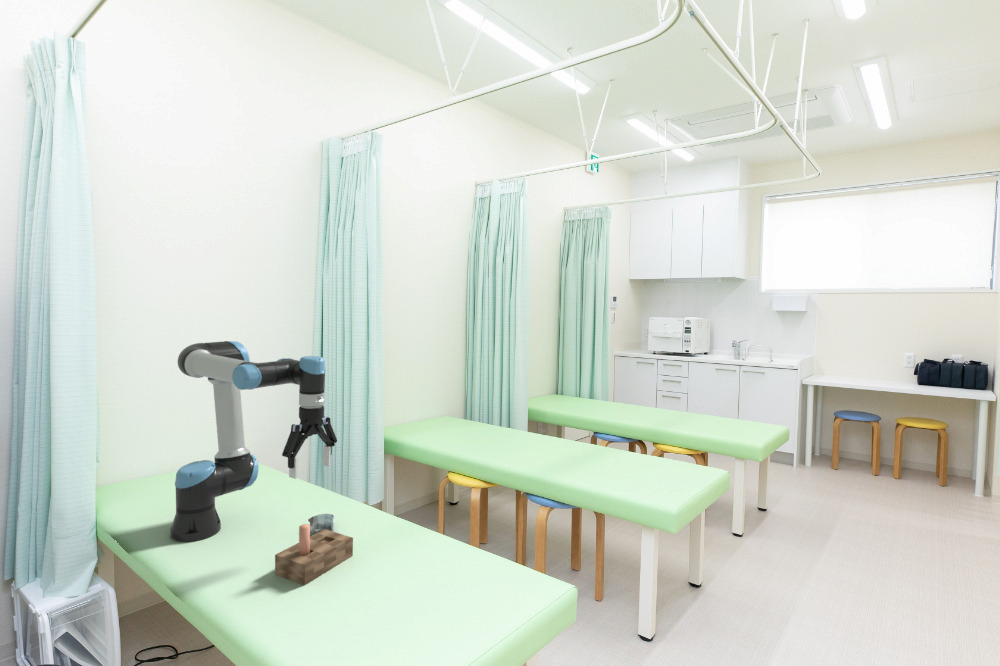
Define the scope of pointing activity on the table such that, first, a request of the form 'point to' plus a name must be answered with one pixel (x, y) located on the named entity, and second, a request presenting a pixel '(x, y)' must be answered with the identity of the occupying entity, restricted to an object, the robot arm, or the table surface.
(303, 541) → the dowel
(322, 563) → the bore block
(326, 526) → the packaged food
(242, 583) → the table surface
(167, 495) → the table surface
